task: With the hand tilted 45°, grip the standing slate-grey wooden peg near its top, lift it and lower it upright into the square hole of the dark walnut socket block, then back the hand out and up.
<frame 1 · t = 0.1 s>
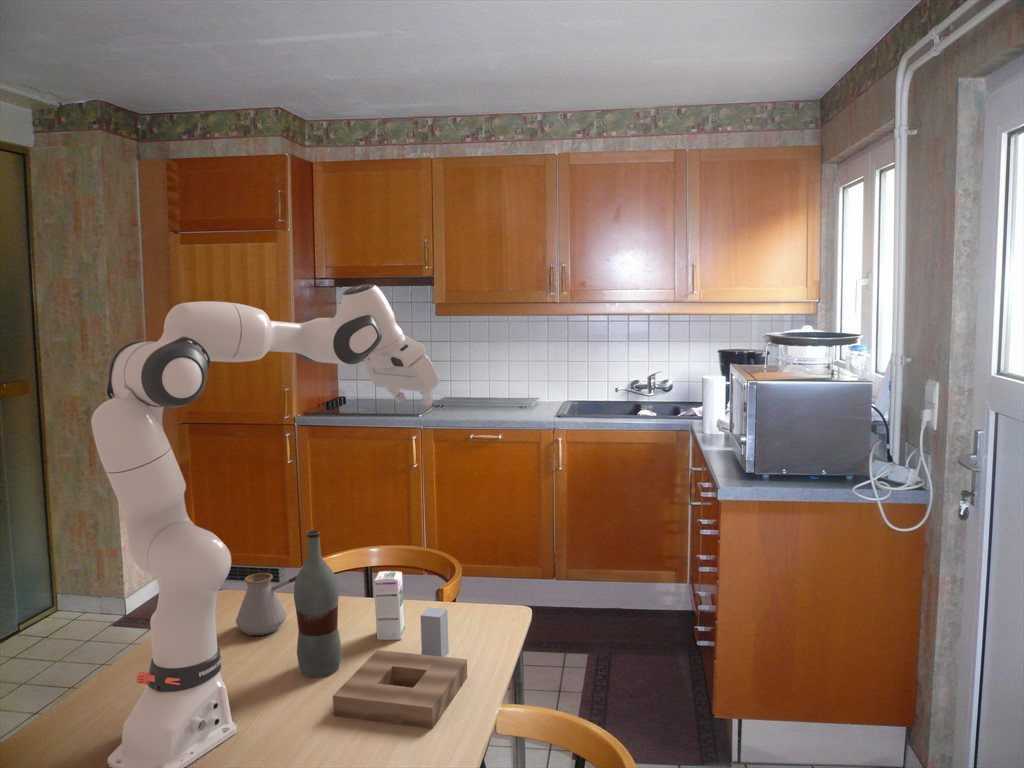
hand: (415, 402, 186), 54 cm above the table, tool tilted 30°, fingers open, 8 cm apart
socket block: (403, 695, 163), on the table
coffee pot: (282, 629, 197), on the table
bottle: (320, 669, 175), on the table
syrup box: (390, 635, 192), on the table
peg: (435, 656, 180), on the table
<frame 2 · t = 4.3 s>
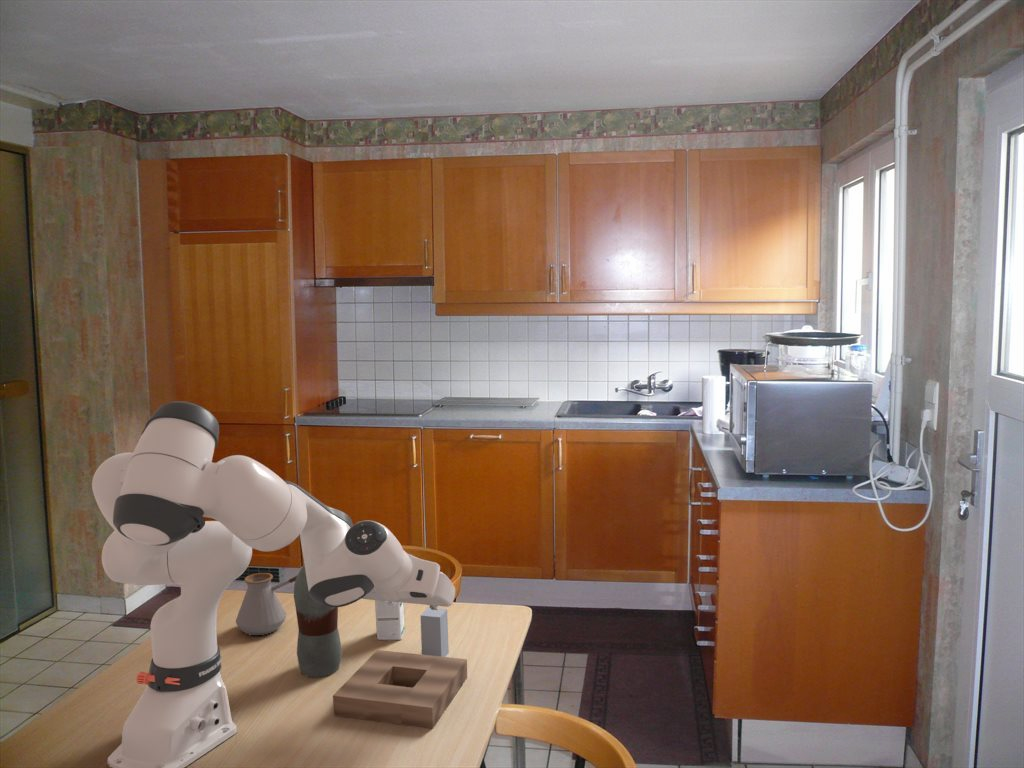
hand: (414, 604, 167), 16 cm above the table, tool tilted 45°, fingers open, 8 cm apart
nothing on the table moved.
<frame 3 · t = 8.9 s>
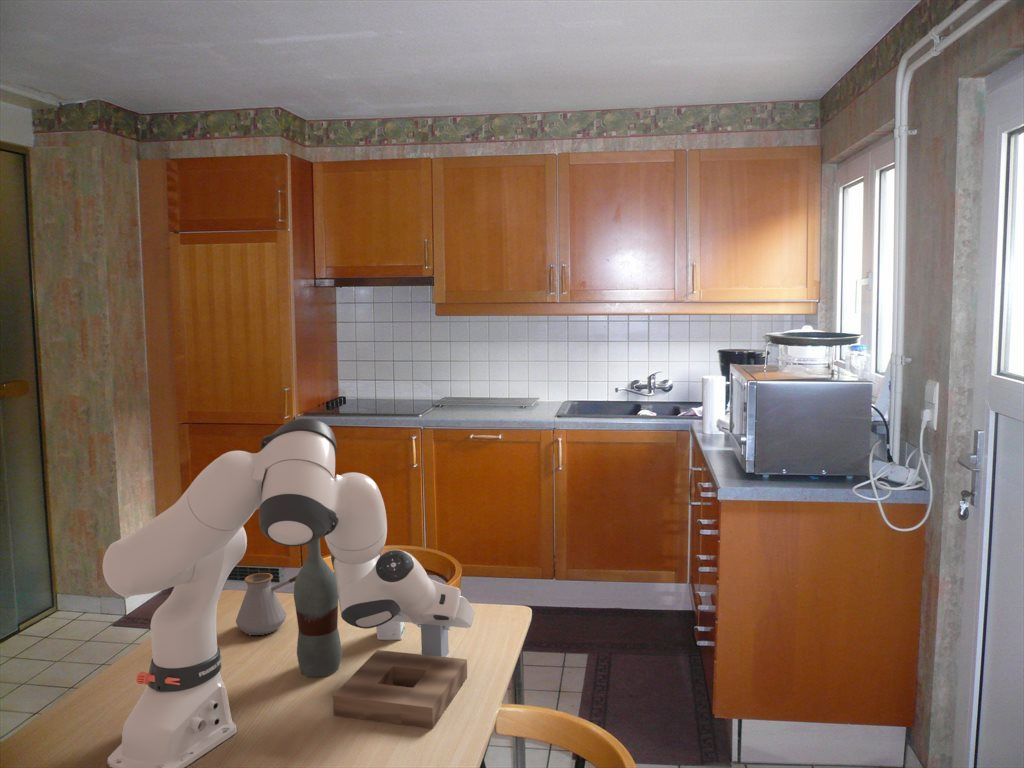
hand: (435, 625, 180), 7 cm above the table, tool tilted 45°, fingers closed on peg, 4 cm apart
peg: (435, 656, 180), on the table, touching gripper
everything else where it was.
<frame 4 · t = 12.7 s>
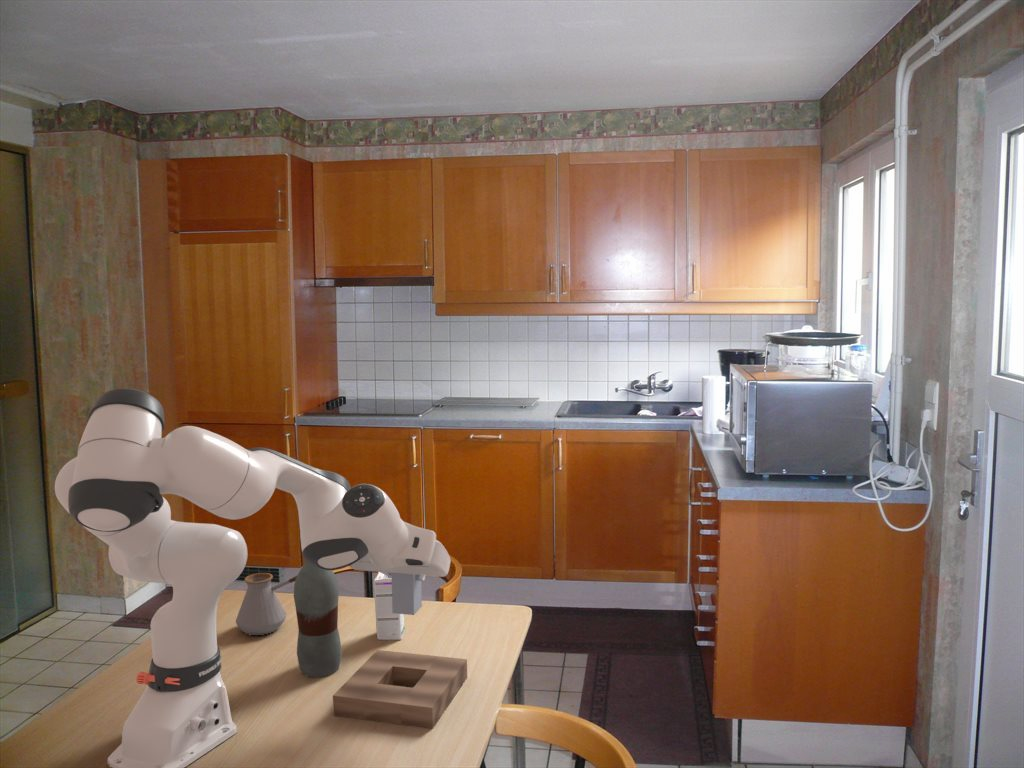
hand: (407, 576, 165), 23 cm above the table, tool tilted 45°, fingers closed on peg, 4 cm apart
peg: (407, 609, 165), point 16 cm above the table, touching gripper
everything else where it was.
when the fingers open (8 cm above the table, at t = 16.7 s): peg drops 1 cm, resting in socket block.
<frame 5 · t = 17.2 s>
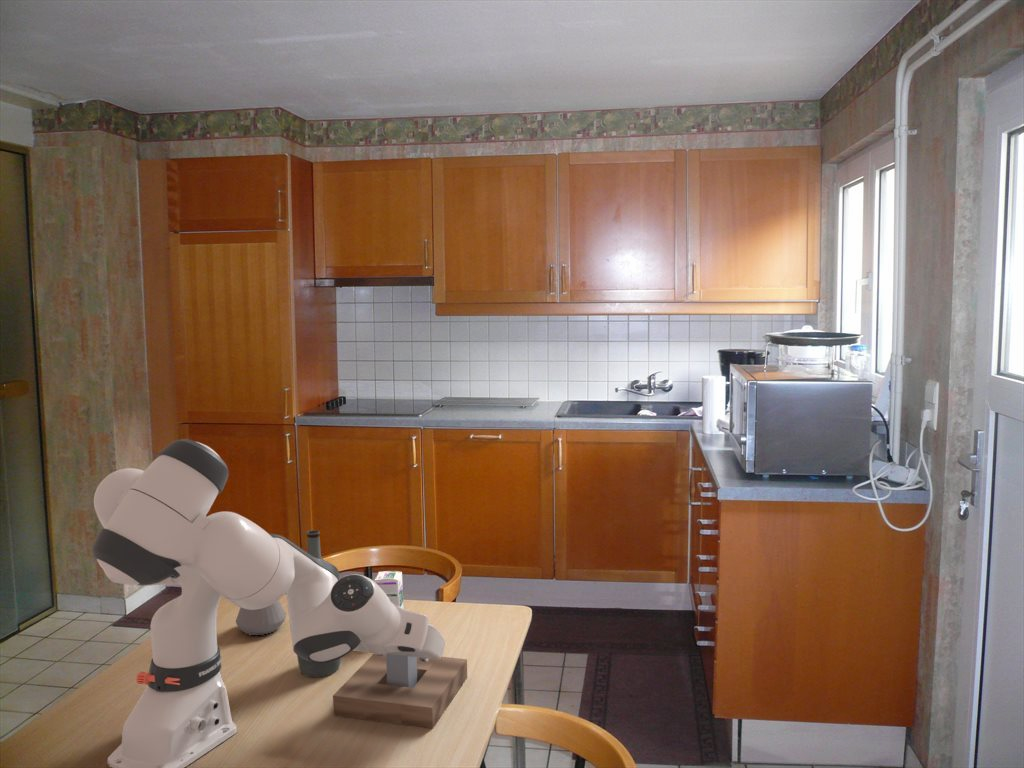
hand: (403, 655, 163), 8 cm above the table, tool tilted 45°, fingers open, 8 cm apart
peg: (403, 696, 163), resting in socket block
everything else where it was.
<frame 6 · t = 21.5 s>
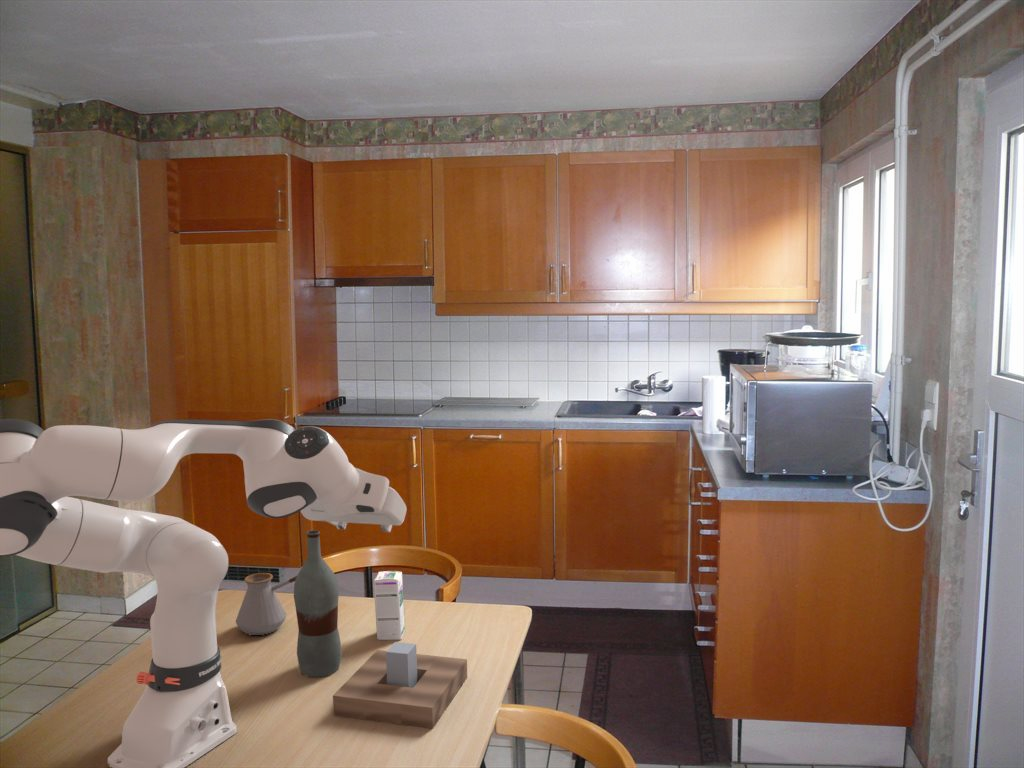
hand: (365, 527, 159), 34 cm above the table, tool tilted 45°, fingers open, 8 cm apart
nothing on the table moved.
at the end: peg 0.1 cm off-centre on the socket block, point 0.0 cm above the socket block's base; peg tilted 0°; the gripper is holding nothing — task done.
